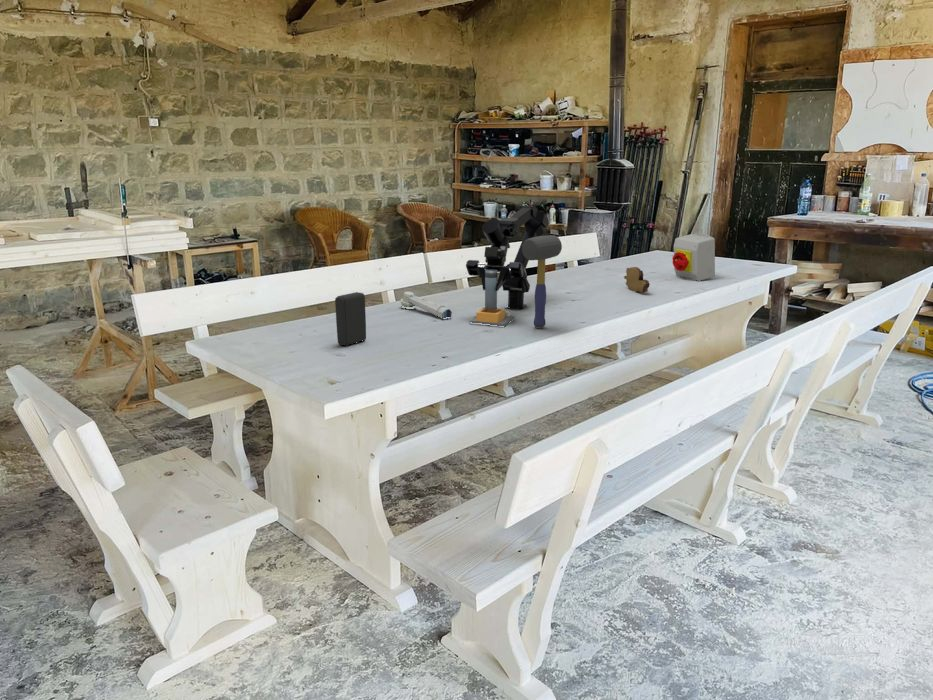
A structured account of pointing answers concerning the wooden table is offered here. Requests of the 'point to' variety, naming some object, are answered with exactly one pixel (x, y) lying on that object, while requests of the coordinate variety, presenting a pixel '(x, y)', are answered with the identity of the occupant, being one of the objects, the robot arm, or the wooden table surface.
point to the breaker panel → (493, 317)
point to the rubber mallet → (541, 269)
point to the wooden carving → (636, 280)
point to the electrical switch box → (694, 256)
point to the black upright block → (350, 318)
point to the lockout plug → (490, 289)
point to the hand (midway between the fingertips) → (490, 290)
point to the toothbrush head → (424, 305)
